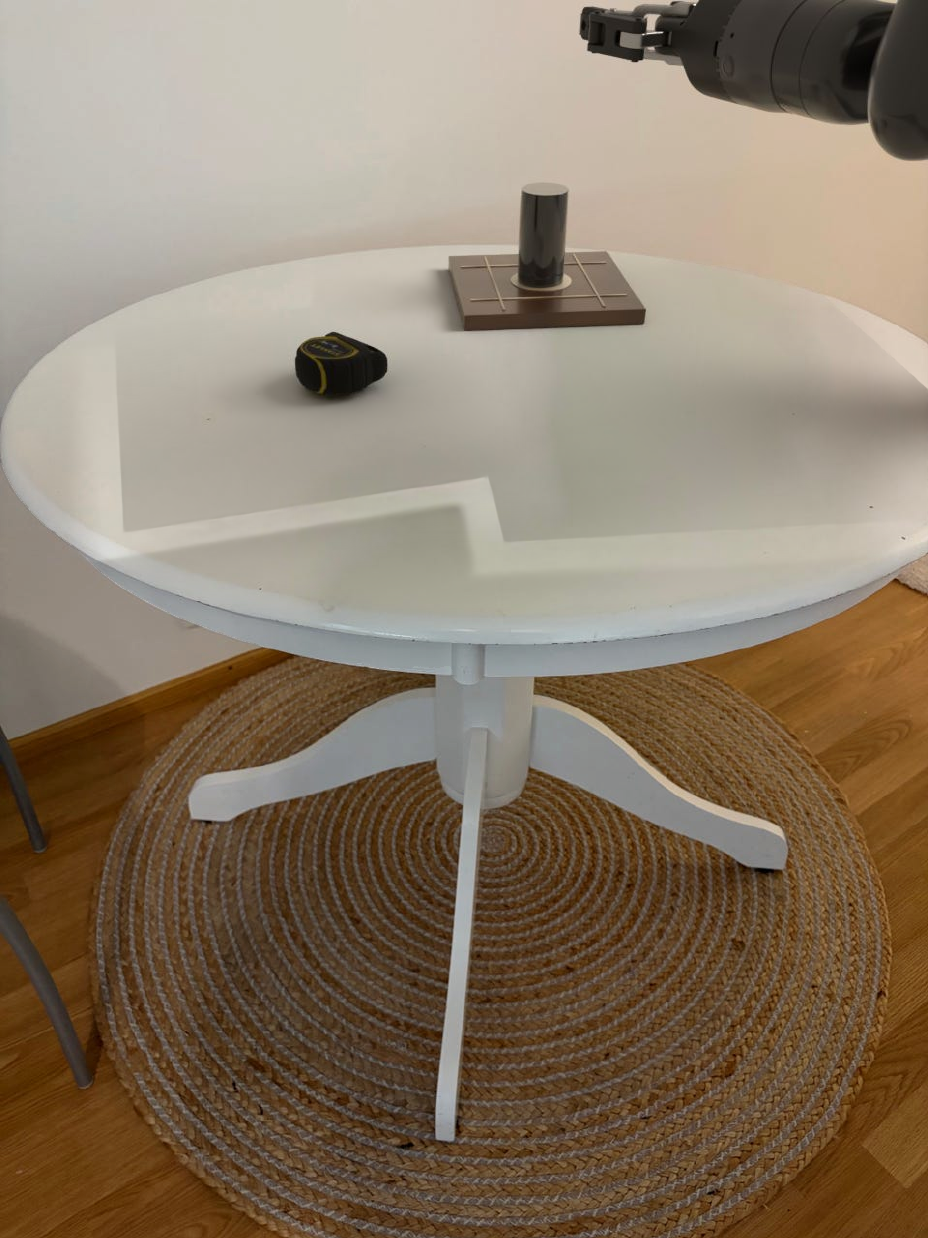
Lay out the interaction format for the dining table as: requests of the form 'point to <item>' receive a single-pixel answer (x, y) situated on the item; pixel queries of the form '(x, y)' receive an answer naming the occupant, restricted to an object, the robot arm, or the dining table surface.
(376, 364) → the tape measure
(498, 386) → the dining table surface
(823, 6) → the robot arm
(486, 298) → the board
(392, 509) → the dining table surface
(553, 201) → the canister
